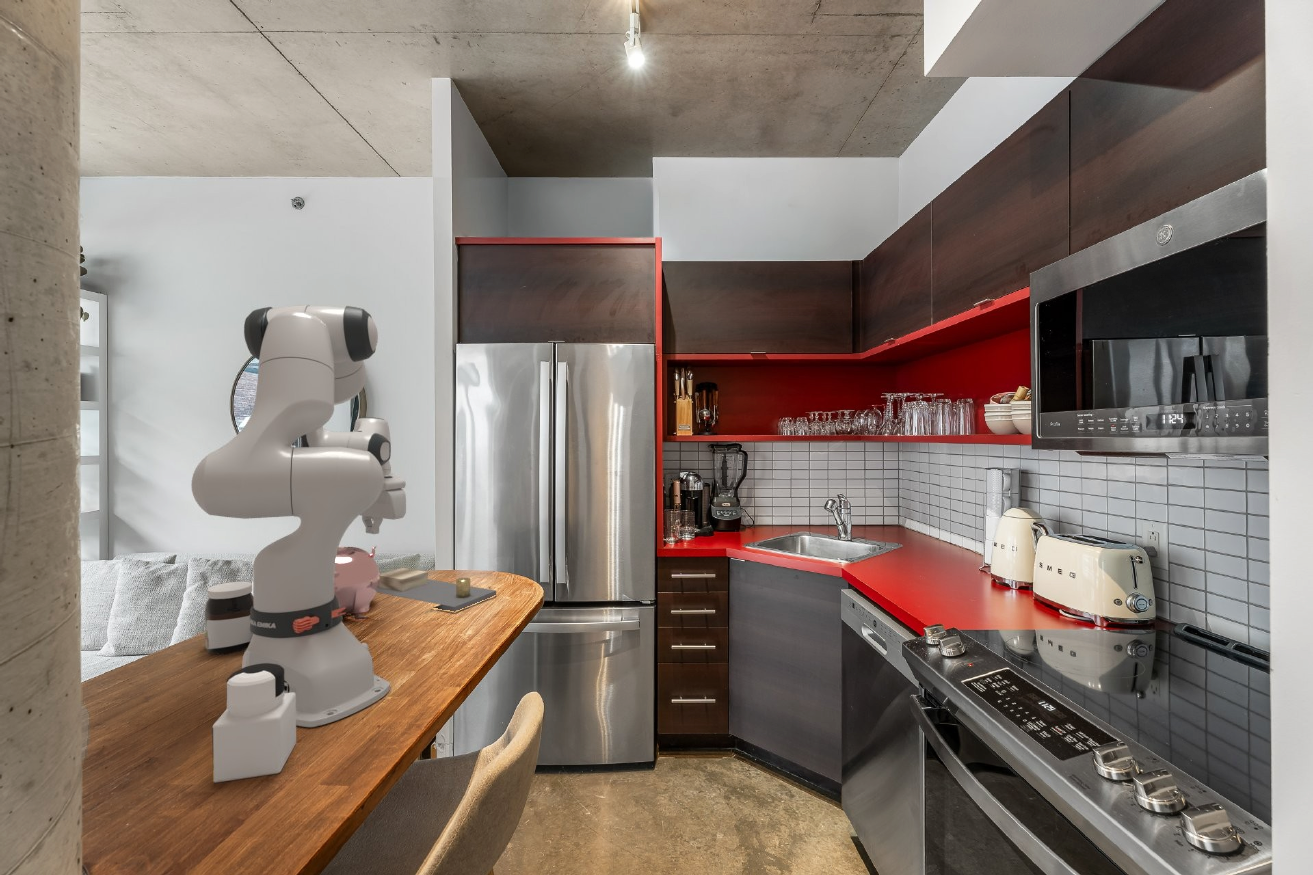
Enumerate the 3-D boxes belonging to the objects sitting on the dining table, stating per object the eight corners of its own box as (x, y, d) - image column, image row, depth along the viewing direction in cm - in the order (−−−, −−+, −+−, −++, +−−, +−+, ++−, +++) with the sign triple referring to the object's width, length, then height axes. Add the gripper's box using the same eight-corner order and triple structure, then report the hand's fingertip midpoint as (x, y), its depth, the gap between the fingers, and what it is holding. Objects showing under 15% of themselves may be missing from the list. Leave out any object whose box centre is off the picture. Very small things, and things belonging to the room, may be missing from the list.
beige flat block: (427, 583, 149) (427, 571, 149) (402, 591, 142) (402, 579, 142) (402, 579, 153) (402, 567, 153) (376, 586, 146) (376, 574, 146)
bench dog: (473, 595, 140) (473, 578, 140) (463, 598, 137) (463, 581, 137) (462, 593, 141) (462, 576, 141) (453, 596, 139) (453, 580, 138)
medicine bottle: (234, 751, 77) (234, 661, 76) (296, 743, 79) (296, 655, 78) (211, 784, 70) (210, 685, 70) (280, 774, 72) (279, 677, 72)
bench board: (496, 596, 144) (496, 590, 144) (454, 613, 131) (454, 606, 131) (407, 581, 157) (407, 575, 157) (361, 595, 144) (361, 589, 144)
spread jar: (203, 644, 112) (202, 584, 112) (272, 630, 120) (272, 574, 119) (208, 664, 103) (208, 599, 103) (283, 648, 111) (283, 587, 110)
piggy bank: (285, 613, 130) (285, 542, 130) (374, 600, 140) (374, 534, 140) (287, 635, 117) (286, 556, 117) (385, 619, 127) (385, 546, 127)
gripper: (333, 478, 153) (334, 531, 153) (390, 484, 144) (390, 539, 145) (355, 476, 159) (355, 527, 159) (410, 481, 150) (410, 535, 151)
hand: (372, 533), depth 152 cm, fingers closed
